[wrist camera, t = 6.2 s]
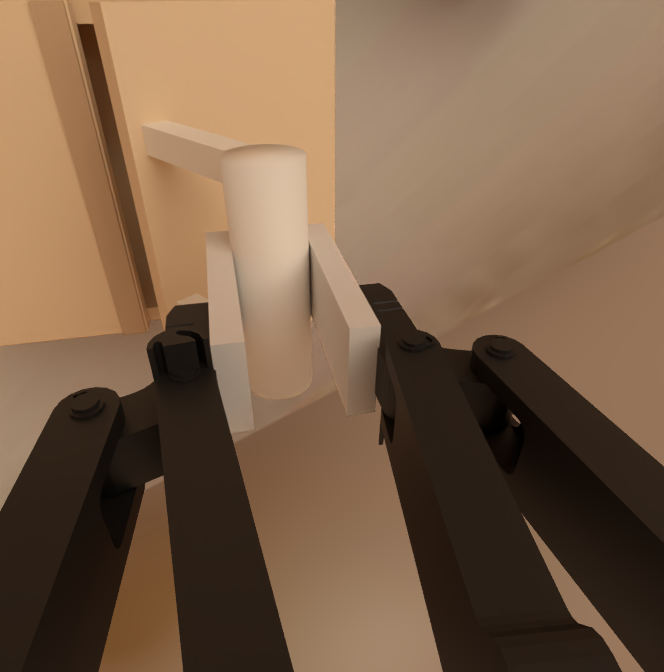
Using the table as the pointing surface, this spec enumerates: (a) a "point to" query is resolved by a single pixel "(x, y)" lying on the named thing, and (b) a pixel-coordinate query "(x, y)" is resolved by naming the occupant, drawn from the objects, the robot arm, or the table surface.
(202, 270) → the flap
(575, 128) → the table surface
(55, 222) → the panel
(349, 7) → the table surface
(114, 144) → the carton
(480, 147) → the table surface
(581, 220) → the table surface
